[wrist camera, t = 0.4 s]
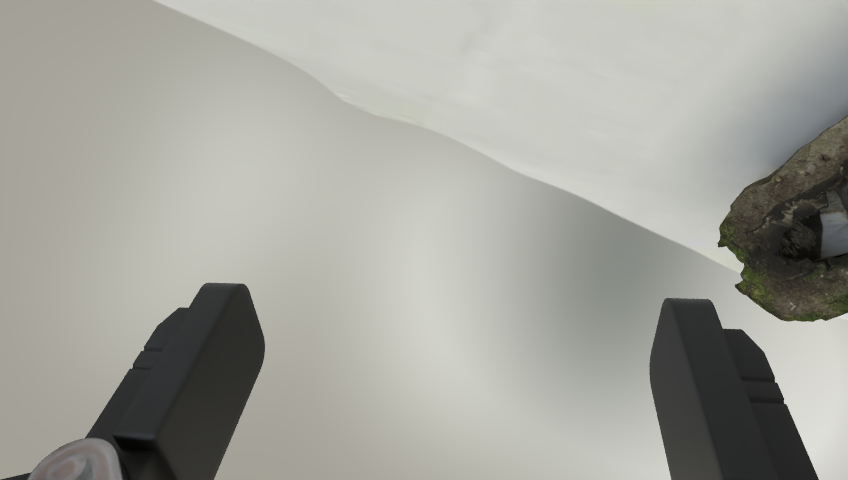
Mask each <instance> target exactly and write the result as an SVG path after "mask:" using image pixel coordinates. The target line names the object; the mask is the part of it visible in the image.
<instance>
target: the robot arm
mask: <svg viewBox="0 0 848 480" xmlns="http://www.w3.org/2000/svg"><path fill="white" fill-rule="evenodd" d="M264 352H265V342H264V336H263V333H262V329H261V326H260V323H259V320H258V317H257V314H256V311H255V308H254V304H253V301H252V299H251V295H250V292H249V290H248V288H247V286H246V285H244V284H231V283H206V284H204V285H203V286H202V287H201V289H200V290H199V292H198V294H197V295H196V297H195V298H194V300H193V302H192V303H191V305H190V307H189V308H178V309H177V310H176V311H175V312H173V313H172V314H171V315H170V316H169V317H168V318H166V319H165V320H164V321H163V322H162V323H160V324H159V325H158V326H157V328H156V329H155V331H154V332H153V334H152V335H151V337H150V339H149V340H148V341H147V343H146V345H145V346H144V351H141V352H140V354H139V355H138V357H137V359H136V360H135V362H134V363H133V368H132V369H129V371H128V373H127V374H126V376H125V377H124V379H123V381H122V382H121V383H120V385H119V387H118V388H117V390H116V391H115V393H114V394H113V396H112V398H111V399H110V401H109V402H108V404H107V405H106V407H105V408H104V410H103V411H102V413H101V414H100V416H99V418H98V419H97V421H96V423H95V424H94V425H93V427H92V429H91V430H90V432H89V433H88V434H87V436H86V437H85V438H84V439H80V440H76V441H73V442H71V443H68V444H65V445H63V446H61V447H59V448H58V449H56V450H55V451H53V452H52V453H51V454H49V455H48V456H46V457H45V458H44V459H43V460H42V461H41V462H40V463H39V464H38V465H37V467H35V469H34V470H33V471H32V472H31V473H27V474H23V475H19V476H14V477H10V478H6V479H1V480H214V478H215V475H216V473H217V471H218V468H219V466H220V464H221V461H222V459H223V456H224V454H225V452H226V449H227V447H228V445H229V442H230V440H231V437H232V435H233V433H234V431H235V428H236V426H237V424H238V421H239V419H240V416H241V414H242V412H243V409H244V407H245V405H246V402H247V400H248V398H249V395H250V393H251V390H252V388H253V386H254V383H255V381H256V379H257V377H258V374H259V372H260V369H261V367H262V364H263V359H264ZM650 382H651V389H652V394H653V398H654V403H655V407H656V412H657V416H658V421H659V425H660V430H661V434H662V439H663V443H664V448H665V453H666V457H667V462H668V466H669V471H670V475H671V480H819V479H818V477H817V475H816V472H815V470H814V468H813V465H812V463H811V461H810V458H809V456H808V454H807V451H806V449H805V447H804V445H803V442H802V440H801V437H800V435H799V433H798V430H797V428H796V426H795V424H794V421H793V419H792V416H791V414H790V412H789V409H788V407H787V405H786V404H784V398H783V395H782V393H781V391H780V388H779V386H778V384H777V383H775V377H774V374H773V372H772V370H771V367H770V365H769V363H768V360H767V358H766V356H765V353H764V352H763V351H762V350H761V349H760V348H759V347H758V346H757V344H756V343H754V341H753V340H752V339H751V338H750V337H749V336H748V335H747V334H746V333H745V332H744V331H743V330H741V329H723V328H722V326H721V323H720V320H719V318H718V315H717V312H716V310H715V307H714V305H713V303H712V302H711V301H710V300H709V299H679V298H666V299H665V300H664V302H663V304H662V308H661V313H660V317H659V321H658V325H657V330H656V334H655V338H654V342H653V347H652V351H651V356H650Z"/></svg>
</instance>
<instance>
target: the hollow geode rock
mask: <svg viewBox="0 0 848 480" xmlns="http://www.w3.org/2000/svg"><path fill="white" fill-rule="evenodd" d="M730 207H731V211H730V212H729V213H728V215H727V216H726V218H725V219H724V221H723V222H722V224H721V225H720V228H719V230H720V241H719V242H718V247H724V246H727V247H728V249H729V250H730V251H732V252H733V253H734V254H735V255H736V257H737V259H738V260H739V261H740V262H742V263H744V266H745V267H744V269H743V271H742V272H741V274H740V275H741V277H742V279H743V281H741V282H740V283H738V284H735V287H736V288H737V289H738V290H739V291H740V292H741V293H742V294H744V295H747V296H748V297H749V298H750V299H751V300H753V301H754V302H755V303H756V304H758V305H759V306H760V307H762V308H763V309H765V310H766V311H767V312H769V313H771V314H772V315H774V316H776V317H777V318H779V319H780V320H784V321H794V320H797V321H812V322H813V321H815V320H818V319H823V320H825V321H826V320H829V319H832V318H835V317H838V316H840V315H843V314H845V313H848V115H847V116H846V117H845V118H843V119H842V120H841V121H839V122H838V123H837V124H835V125H834V126H832V127H830V128H828V129H827V130H825V131H824V132H823V133H821V134H820V135H819V137H817V138H816V139H814V140H813V141H812V142H810V143H809V144H807V145H805V146H804V147H802V148H800V149H799V150H798V151H797V152H796V153H795V154H794V155H793V156H792V157H791V158H790V159H789V160H788V161H787V162H786V163H785V164H784V165H783V166H782V167H780V168H779V169H778V170H776V171H775V172H773V173H772V174H771V175H770V176H768V177H766V178H764V179H761V180H759V181H757V182H754V183H752V184H751V185H749V186H747V187H745V189H744V190H743V191H742V192H741V194H740V195H739V196H738V197H737V198H736V200H735V201H734V202H733V203H732V204H731V206H730Z"/></svg>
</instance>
